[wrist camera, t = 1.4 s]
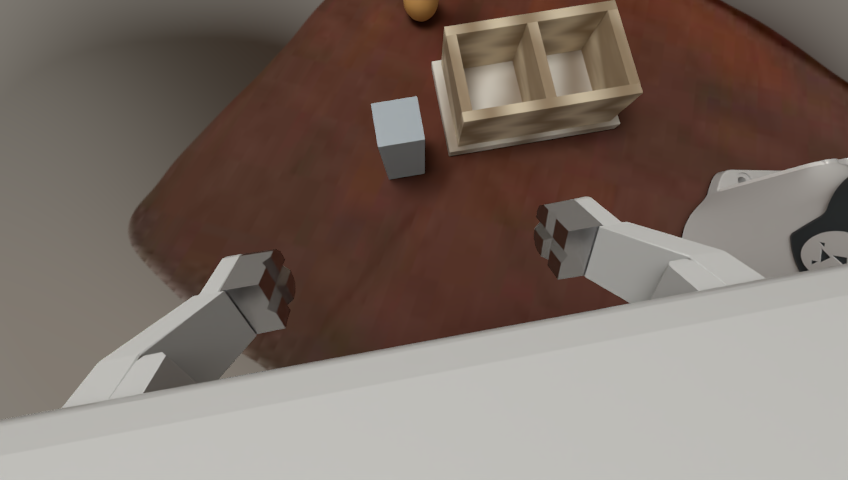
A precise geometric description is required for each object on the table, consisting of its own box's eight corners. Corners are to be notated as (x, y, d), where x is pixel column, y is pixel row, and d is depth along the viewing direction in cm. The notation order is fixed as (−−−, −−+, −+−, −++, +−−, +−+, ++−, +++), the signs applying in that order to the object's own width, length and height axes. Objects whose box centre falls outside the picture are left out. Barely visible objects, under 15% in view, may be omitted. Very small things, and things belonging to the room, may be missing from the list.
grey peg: (418, 139, 34) (416, 96, 26) (424, 173, 33) (424, 139, 25) (383, 145, 34) (370, 103, 26) (389, 179, 33) (378, 147, 25)
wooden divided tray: (590, 42, 36) (623, -6, 30) (614, 128, 34) (654, 95, 28) (431, 67, 35) (433, 24, 29) (449, 156, 34) (454, 129, 28)
